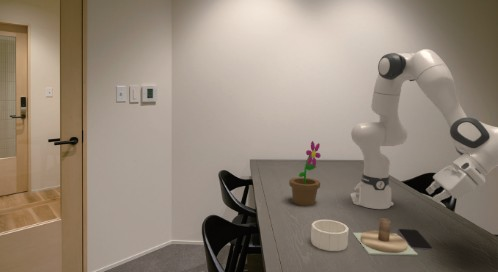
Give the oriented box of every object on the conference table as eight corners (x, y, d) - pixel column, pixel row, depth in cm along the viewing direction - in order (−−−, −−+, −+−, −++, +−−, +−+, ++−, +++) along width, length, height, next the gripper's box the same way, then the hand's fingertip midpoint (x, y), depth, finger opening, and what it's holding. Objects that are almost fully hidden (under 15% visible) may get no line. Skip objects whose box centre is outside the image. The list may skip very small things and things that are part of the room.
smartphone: (411, 247, 114) (397, 228, 129) (411, 250, 114) (396, 231, 129) (433, 249, 113) (417, 229, 128) (433, 252, 113) (416, 232, 128)
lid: (354, 233, 124) (356, 211, 123) (394, 234, 124) (396, 212, 123) (370, 252, 109) (371, 228, 108) (415, 253, 109) (418, 229, 108)
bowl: (308, 235, 122) (309, 219, 121) (341, 235, 122) (342, 220, 121) (315, 250, 110) (316, 233, 109) (351, 251, 110) (352, 234, 110)
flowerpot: (308, 209, 149) (311, 143, 145) (282, 202, 158) (285, 139, 154) (324, 202, 159) (328, 140, 155) (299, 195, 169) (302, 136, 165)
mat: (352, 233, 124) (352, 232, 124) (395, 234, 125) (395, 233, 125) (369, 254, 108) (369, 253, 108) (417, 255, 109) (417, 254, 109)
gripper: (450, 156, 117) (417, 181, 121) (471, 168, 98) (431, 197, 101) (463, 170, 116) (430, 194, 120) (487, 184, 97) (446, 213, 101)
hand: (431, 196), depth 111 cm, fingers open, 8 cm apart
